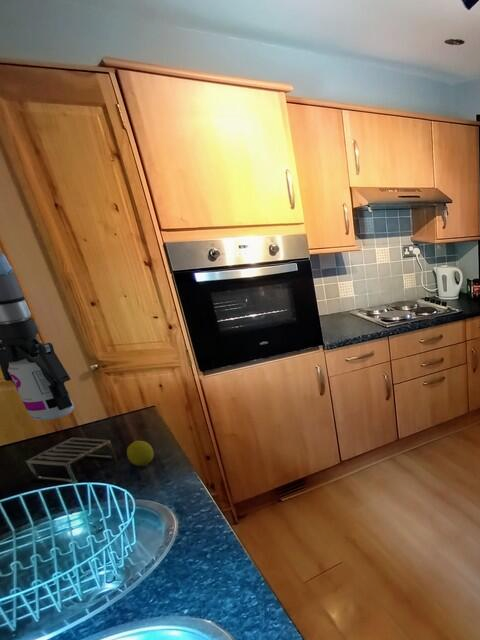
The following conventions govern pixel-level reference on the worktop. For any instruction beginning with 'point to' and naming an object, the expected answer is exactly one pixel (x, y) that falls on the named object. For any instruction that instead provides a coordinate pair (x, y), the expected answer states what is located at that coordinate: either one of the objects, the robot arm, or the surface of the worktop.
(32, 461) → the wire rack
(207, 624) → the worktop surface
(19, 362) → the supplement can
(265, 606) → the worktop surface
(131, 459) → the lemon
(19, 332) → the robot arm
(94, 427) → the worktop surface
